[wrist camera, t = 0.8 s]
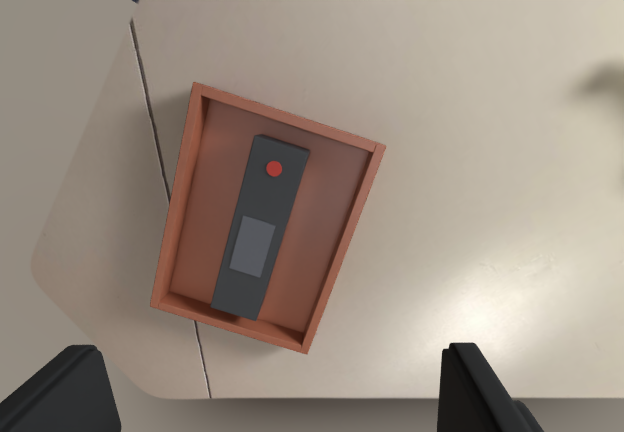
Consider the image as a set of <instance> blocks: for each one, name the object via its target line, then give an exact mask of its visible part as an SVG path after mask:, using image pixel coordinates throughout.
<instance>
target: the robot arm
mask: <svg viewBox="0 0 624 432" xmlns="http://www.w3.org/2000/svg"><path fill="white" fill-rule="evenodd" d="M0 432H121V422H120V418H119V415H118V411H117V408H116V404H115V400H114V396H113V393H112V389H111V386H110V382H109V378H108V375H107V371H106V367H105V364H104V360H103V356H102V353H101V352H100V351H98V350H97V347H95V346H94V345H71V346H68V347H67V348H65V349H64V350H63V351H62V352H60V353H59V354H58V355H57V356H56V357H55V358H54V359H52V360H51V361H50V362H49V363H47V364H46V365H45V366H44V367H43V368H41V369H40V370H39V371H38V372H37V373H36V374H34V375H33V376H32V377H31V378H30V379H28V380H27V381H26V382H25V383H24V384H23V385H21V386H20V387H19V388H18V389H17V390H15V391H14V392H13V393H12V394H11V395H9V396H8V397H7V398H6V399H5V400H3V401H2V402H1V403H0ZM437 432H544V431H543V430H542V428H541V427H540V425H539V424H538V422H537V421H536V419H535V418H534V417H533V415H532V414H531V412H530V411H529V409H528V408H527V407H526V406H525V405H524V404H523V403H522V402H520V401H513V400H512V399H511V397H510V396H509V394H508V392H507V391H506V389H505V388H504V386H503V385H502V383H501V382H500V380H499V379H498V377H497V376H496V374H495V373H494V371H493V369H492V368H491V366H490V365H489V363H488V362H487V360H486V359H485V357H484V356H483V354H482V353H481V351H480V350H479V348H478V346H477V345H476V344H475V343H450V345H449V349H443V351H442V362H441V377H440V392H439V407H438V421H437Z"/></svg>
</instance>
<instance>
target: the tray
mask: <svg viewBox="0 0 624 432" xmlns="http://www.w3.org/2000/svg"><path fill="white" fill-rule="evenodd" d="M259 134H263V135H266V136H269V137H272V138H275V139H278V140H281V141H285V142H288V143H291V144H294V145H297V146H300V147H303V148H306V149H309V150H310V154H309V157H308V160H307V163H306V166H305V170H304V173H303V176H302V179H301V182H300V186H299V189H298V192H297V195H296V198H295V202H294V205H293V208H292V211H291V214H290V218H289V221H288V224H287V227H286V230H285V234H284V237H283V240H282V243H281V246H280V250H279V253H278V256H277V259H276V262H275V265H274V269H273V272H272V275H271V278H270V281H269V285H268V288H267V291H266V294H265V297H264V301H263V304H262V307H261V310H260V312H259V315H258V318H257V320H256V321H253V320H250V319H247V318H244V317H240V316H237V315H234V314H231V313H227V312H224V311H221V310H218V309H214V308H211V307H210V305H211V301H212V297H213V294H214V290H215V286H216V282H217V278H218V274H219V270H220V266H221V262H222V259H223V255H224V251H225V247H226V243H227V239H228V235H229V231H230V228H231V224H232V220H233V216H234V212H235V208H236V204H237V200H238V197H239V193H240V189H241V185H242V181H243V177H244V173H245V169H246V166H247V162H248V158H249V154H250V150H251V146H252V142H253V138H254V136H255V135H259ZM385 149H386V146H385V145H383V144H380V143H377V142H374V141H371V140H368V139H365V138H362V137H359V136H356V135H353V134H350V133H347V132H344V131H341V130H338V129H335V128H332V127H329V126H326V125H323V124H320V123H317V122H314V121H311V120H308V119H305V118H302V117H299V116H296V115H293V114H290V113H287V112H284V111H281V110H278V109H275V108H272V107H269V106H266V105H263V104H260V103H257V102H254V101H251V100H248V99H245V98H242V97H239V96H236V95H233V94H230V93H227V92H224V91H221V90H218V89H215V88H212V87H209V86H206V85H203V84H199V83H196V82H193V86H192V91H191V96H190V101H189V107H188V112H187V117H186V122H185V127H184V132H183V138H182V143H181V148H180V153H179V158H178V163H177V169H176V174H175V179H174V184H173V189H172V194H171V200H170V205H169V210H168V215H167V220H166V225H165V231H164V236H163V241H162V246H161V251H160V256H159V261H158V267H157V272H156V277H155V282H154V287H153V292H152V298H151V303H150V307H153V308H157V309H160V310H163V311H166V312H169V313H173V314H176V315H179V316H183V317H186V318H189V319H192V320H196V321H199V322H202V323H205V324H209V325H212V326H215V327H218V328H222V329H225V330H228V331H232V332H235V333H238V334H241V335H245V336H248V337H251V338H254V339H258V340H261V341H264V342H267V343H271V344H274V345H277V346H281V347H284V348H287V349H290V350H294V351H297V352H300V353H304V354H308V351H309V349H310V346H311V343H312V341H313V338H314V335H315V333H316V330H317V328H318V325H319V322H320V320H321V317H322V314H323V312H324V309H325V307H326V304H327V301H328V299H329V296H330V293H331V291H332V288H333V285H334V283H335V280H336V278H337V275H338V272H339V270H340V267H341V264H342V262H343V259H344V257H345V254H346V251H347V249H348V246H349V243H350V241H351V238H352V236H353V233H354V230H355V228H356V225H357V222H358V220H359V217H360V215H361V212H362V209H363V207H364V204H365V201H366V199H367V196H368V194H369V191H370V188H371V186H372V183H373V180H374V178H375V175H376V173H377V170H378V167H379V165H380V162H381V159H382V157H383V154H384V152H385Z"/></svg>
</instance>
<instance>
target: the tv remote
mask: <svg viewBox="0 0 624 432" xmlns="http://www.w3.org/2000/svg"><path fill="white" fill-rule="evenodd" d="M309 154H310V150H309V149H306V148H303V147H300V146H297V145H294V144H291V143H288V142H285V141H281V140H278V139H275V138H272V137H269V136H266V135H263V134H259V135H255V136H254V138H253V142H252V146H251V150H250V154H249V158H248V162H247V166H246V169H245V173H244V177H243V181H242V185H241V189H240V193H239V197H238V200H237V204H236V208H235V212H234V216H233V220H232V224H231V228H230V231H229V235H228V239H227V243H226V247H225V251H224V255H223V259H222V262H221V266H220V270H219V274H218V278H217V282H216V286H215V290H214V294H213V297H212V301H211V305H210V307H211V308H214V309H218V310H221V311H224V312H227V313H231V314H234V315H237V316H240V317H244V318H247V319H250V320H253V321H256V320H257V318H258V315H259V312H260V310H261V307H262V304H263V301H264V297H265V294H266V291H267V288H268V285H269V281H270V278H271V275H272V272H273V269H274V265H275V262H276V259H277V256H278V253H279V250H280V246H281V243H282V240H283V237H284V234H285V230H286V227H287V224H288V221H289V218H290V214H291V211H292V208H293V205H294V202H295V198H296V195H297V192H298V189H299V186H300V182H301V179H302V176H303V173H304V170H305V166H306V163H307V160H308V157H309Z"/></svg>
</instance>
